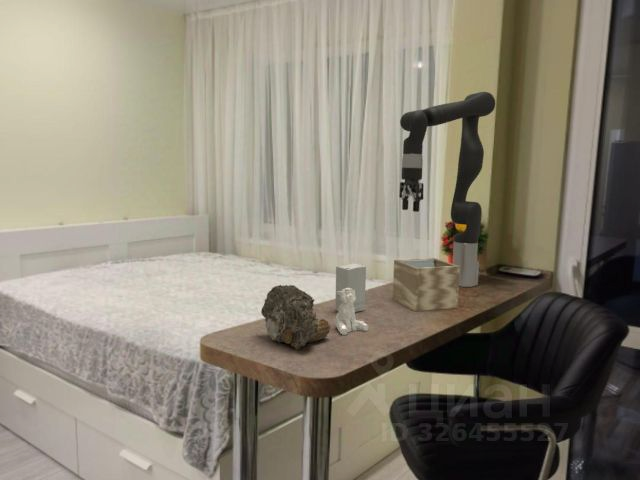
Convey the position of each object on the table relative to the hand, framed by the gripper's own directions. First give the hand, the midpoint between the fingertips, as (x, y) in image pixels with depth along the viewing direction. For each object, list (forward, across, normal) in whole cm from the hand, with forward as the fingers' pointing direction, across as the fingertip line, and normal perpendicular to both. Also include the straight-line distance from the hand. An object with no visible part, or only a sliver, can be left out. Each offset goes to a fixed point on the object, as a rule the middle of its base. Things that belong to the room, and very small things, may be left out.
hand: (410, 210), depth 195 cm
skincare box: (+30, -22, +32) cm, 49 cm away
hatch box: (+30, -20, +4) cm, 36 cm away
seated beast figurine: (+30, -40, +40) cm, 64 cm away
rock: (+30, -47, +56) cm, 79 cm away
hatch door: (+22, -16, +4) cm, 28 cm away
